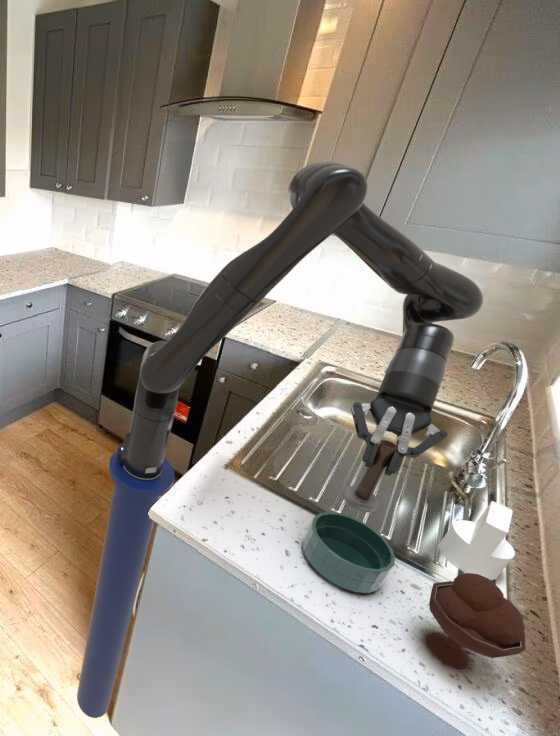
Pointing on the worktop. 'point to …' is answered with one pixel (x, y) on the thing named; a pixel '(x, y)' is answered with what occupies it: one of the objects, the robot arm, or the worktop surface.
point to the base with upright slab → (480, 543)
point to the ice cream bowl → (473, 621)
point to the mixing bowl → (348, 552)
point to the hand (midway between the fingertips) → (378, 469)
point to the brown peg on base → (370, 480)
